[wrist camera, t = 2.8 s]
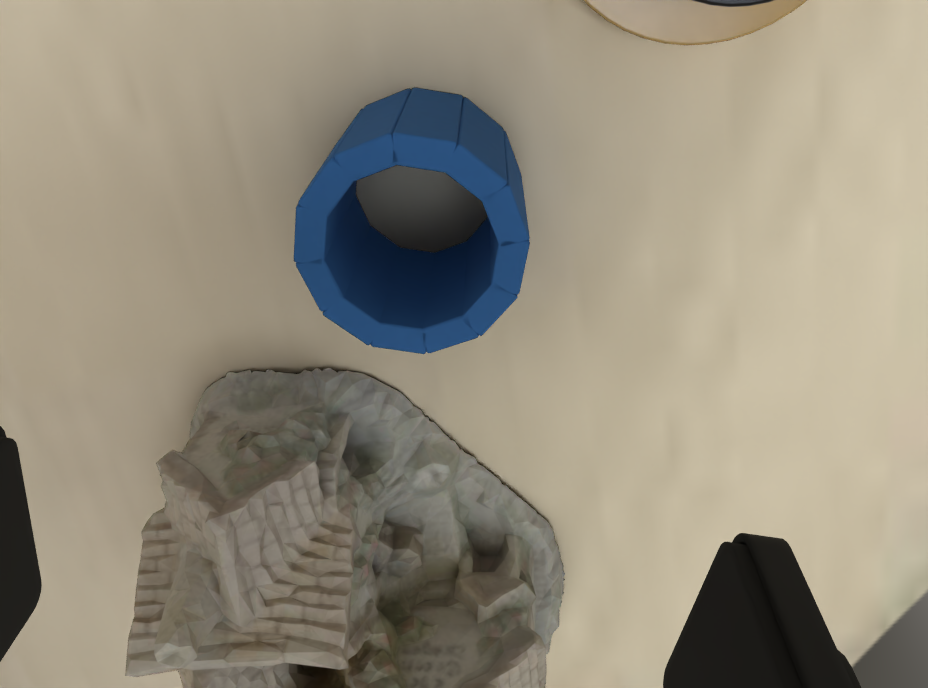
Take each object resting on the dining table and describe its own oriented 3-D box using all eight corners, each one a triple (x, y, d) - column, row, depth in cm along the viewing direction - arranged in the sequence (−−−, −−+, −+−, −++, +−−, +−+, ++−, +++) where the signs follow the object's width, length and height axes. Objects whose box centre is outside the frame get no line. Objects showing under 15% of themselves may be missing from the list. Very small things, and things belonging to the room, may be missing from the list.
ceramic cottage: (542, 677, 36) (560, 1102, 22) (196, 629, 36) (3, 1026, 22) (612, 390, 29) (700, 749, 15) (185, 330, 29) (-103, 638, 15)
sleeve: (326, 257, 26) (290, 335, 21) (339, 74, 23) (299, 117, 18) (501, 283, 26) (504, 366, 21) (535, 106, 23) (548, 156, 18)
